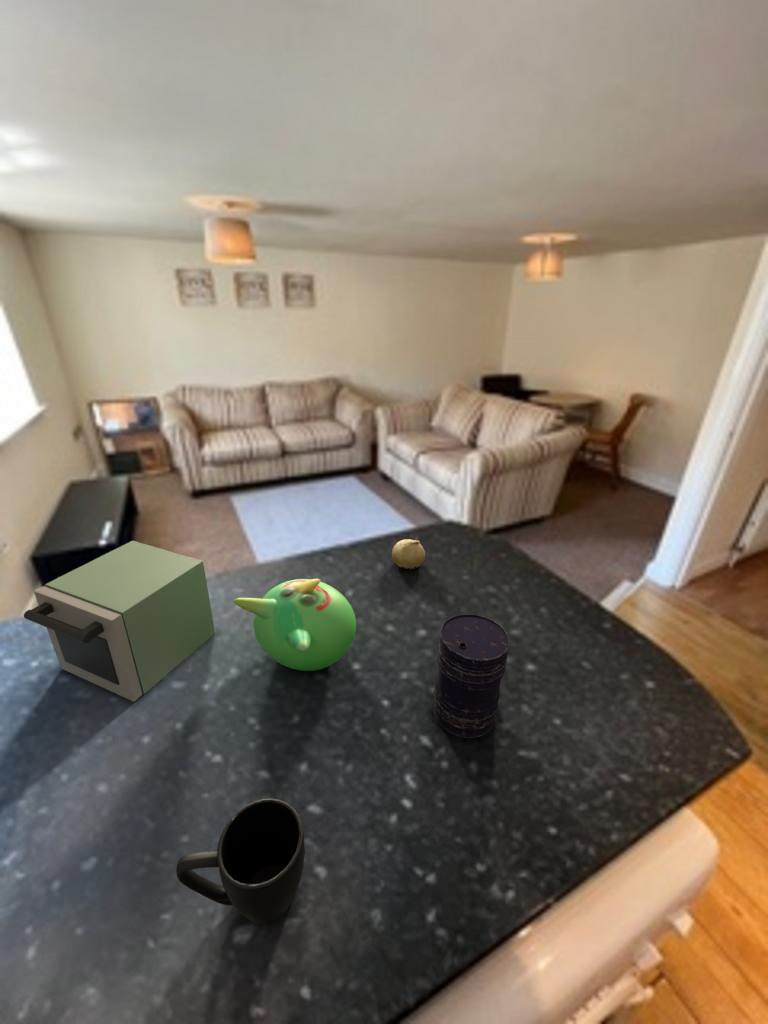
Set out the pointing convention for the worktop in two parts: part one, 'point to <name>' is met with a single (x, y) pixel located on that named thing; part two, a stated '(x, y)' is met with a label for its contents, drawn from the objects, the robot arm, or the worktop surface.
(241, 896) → the mug
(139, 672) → the oven
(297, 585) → the toy bird
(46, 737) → the worktop surface
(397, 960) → the worktop surface
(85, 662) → the door
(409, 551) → the onion
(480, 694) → the dark oil drum
